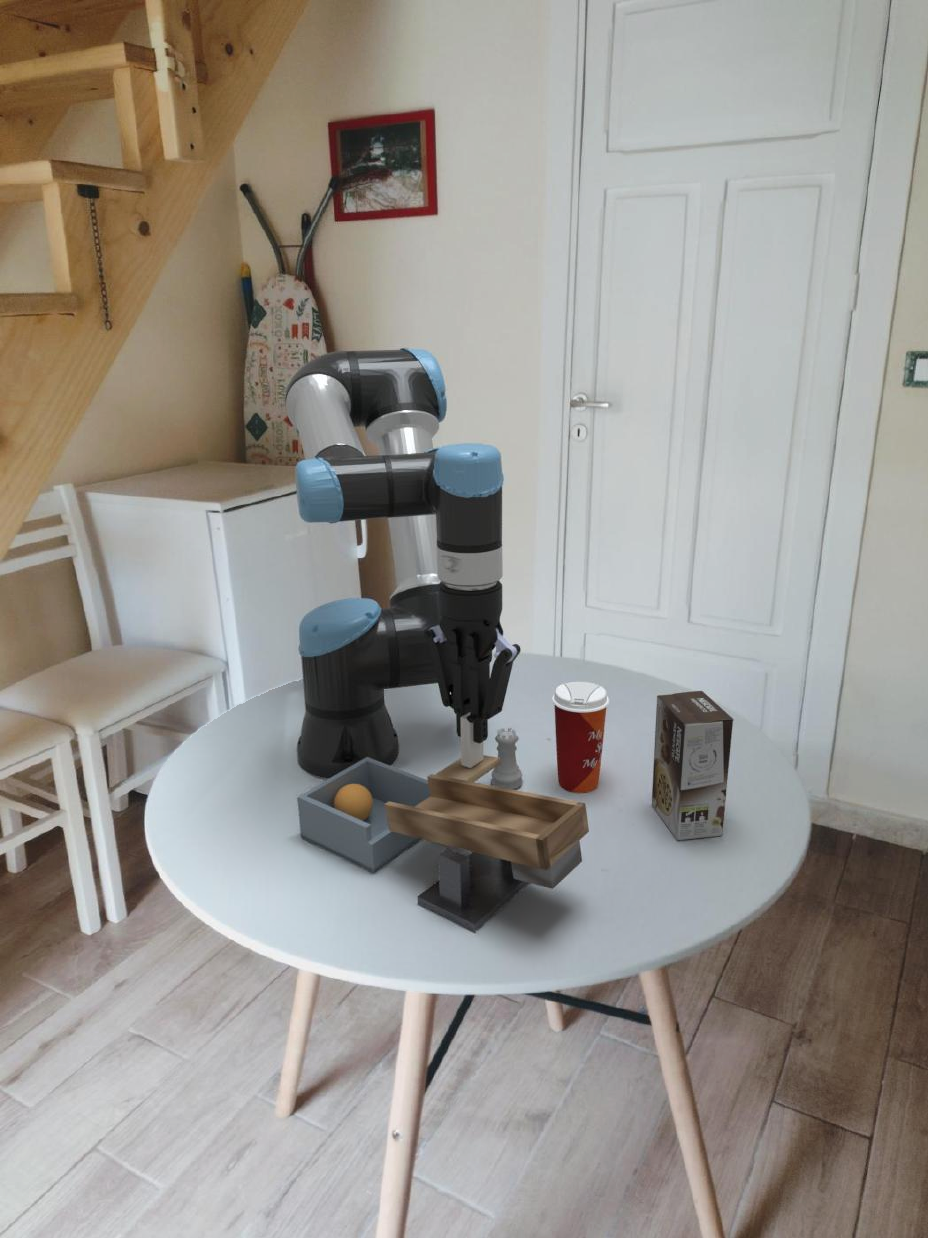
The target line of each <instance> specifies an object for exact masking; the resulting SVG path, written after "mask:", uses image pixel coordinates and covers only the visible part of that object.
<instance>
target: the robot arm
mask: <svg viewBox="0 0 928 1238" xmlns="http://www.w3.org/2000/svg"><path fill="white" fill-rule="evenodd" d="M447 403H448V402H447V396H446V384H445V379H444V375H443V372H442V369H441V366H440V364H439V362H438V360H437V358H436V357H435V355H433V353H432V352H429V351H428V350H426V349H421V348H420V349H415V348H407V347H401V348H399V349H380V350H379V349H376V350H374V349H373V350H370V349H369V350H335V351H330V352H327V353H324V354H321V355H319V356H317V357H315V358H313V359H311V360H310V361H308V362H307V363H305V364H304V365H302V367H300V368H299V369H298V370H297V371H296V373H295V374H294V375H293V376H292V377H291V378H290V381H289V383H288V384H287V388H286V390H285V396H284V405H285V410H286V414H287V417H288V419H289V421H290V423H291V425H292V426H293V427H294V428H295V429H296V430H297V431H298V435H299V439H300V443H301V446H302V447H301V448H302V451H303V455H304V459H303V460H300V461H299V462H297V464H295V468H294V474H295V475H294V476H295V488H296V491H295V492H296V501H297V505H298V506H297V507H298V513H299V516H300V518H301V519H302V520H303V521H304V522H306V523H327V524H336V523H339V522H340V523H342V522H352V521H353V522H354V521H363V520H364V521H365V520H374V519H375V520H377V519H387V520H388V527H389V532H390V533H389V535H390V540H391V548H392V555H393V560H394V561H393V562H394V567H395V568H394V569H395V570H394V571H395V575H396V583H397V588H396V589H395V590H394V591H393V593H392V594H391V595H390V597H389V606H390V607H389V608H381V606H380V604H379V603H378V602H377V601H376V600H374V599H372V598H367V597H362V598H359V597H350V598H349V597H348V598H342V599H337V600H333V601H331V602H330V601H329V602H327V603H324V604H321V605H320V606H317V607H315V608H313V609H312V610H310V611H309V612H308V613H306V614H305V615H304V616H303V618H302V619H301V621H300V624H299V628H298V630H299V631H298V632H299V633H298V634H299V640H298V641H299V645H298V654H299V655H300V659H301V669H302V671H301V672H302V686H303V697H304V709H305V710H304V711H305V712H304V716H303V719H302V725H301V729H300V730H301V731H300V736H299V738H298V740H297V744H296V754H297V755H296V757H297V764H298V765H299V767H300V768H301V769H302V770H303V771H305V773H307V774H310V775H312V776H314V777H318V778H322V779H326V780H327V779H329V778H331V777H333V776H334V775H336V774H338V773H340V772H341V771H343V770H345V769H347V768H349V767H350V766H352V765H354V764H356V763H357V762H359V761H361V760H363V759H364V758H366V757H369V758H371V759H374V760H377V761H379V762H382V763H384V764H387V765H390V766H392V765H393V764H394V763H395V762H396V760H397V759H398V757H399V756H400V743H399V742H400V741H399V736H398V733H397V731H396V729H395V728H394V724H393V721H392V718H391V716H390V714H389V711H388V708H387V706H386V701H385V690H388V689H400V688H409V687H416V686H425V685H434V684H437V685H438V690H439V695H440V698H441V702H442V704H443V706H444V707H446V708H448V707H450V708H451V709H452V710H453V713H454V714H455V718H456V725H455V726H456V734H457V737H458V738H460V751H461V752H460V754H461V755H460V758H461V765H463V766H466V767H469V768H472V767H473V766H475V765H476V764H478V763H479V762H481V761H482V760H484V741H486V740H487V739H488V737H489V729H488V728H489V726H488V725H489V724H488V723H489V722H488V720H490V719H492V718H494V717H495V716H497V715H498V714H500V713H501V712H502V711H503V707H504V703H505V699H506V694H507V691H508V687H509V682H510V677H511V673H512V670H513V665H514V661H515V660H516V658H517V657H518V656H519V655H520V653H521V646H520V645H519V644H517V643H514V644H511V643H510V642H509V641H508V640H507V639H506V637H504V629H503V627H502V625H501V617H502V615H501V614H502V612H503V584H502V583H501V581H500V580H501V579H502V578H503V575H504V574H503V571H504V570H503V567H504V566H503V564H504V563H503V485H504V481H505V480H504V479H505V478H504V473H503V467H502V454H501V451H500V450H499V449H498V448H497V447H496V446H494V445H491V444H483V443H475V442H474V443H470V442H468V443H466V442H465V443H452V444H447V445H442V446H441V447H439V446H438V447H434V445H433V438H434V437H435V436H436V434H437V433H438V431H439V429H440V423H441V422H443V421H444V420H445V418H446V415H447V411H448V410H447V407H448V405H447ZM356 427H357V428H358V427H359V428H360V427H361V428H362V427H365V434H366V438H367V439H368V441H369V442H371V443H372V444H374V445H375V446H376V447H377V450H378V455H366V453H365V451H364V448H363V446H362V443H361V441H360V439H359V436H358V433H357V431H356ZM494 650H495V652H494V654H493V651H494ZM493 657H494V658H495V659H494V662H493V664H492V667H490V666H491V662H492V660H493ZM490 669H491V670H490ZM490 671H491V672H490Z"/></svg>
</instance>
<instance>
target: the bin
mask: <svg viewBox="0 0 928 1238" xmlns="http://www.w3.org/2000/svg"><path fill="white" fill-rule="evenodd" d="M349 784H359V785H362V786H364V787H365V788H366V789H368V791H369V792H370V793H371V796H372V799H373V807H372V811H371V813H370V814H369V816H368V817H367V818H366V819H365V820H363V821H362V820H359V819H357V818H355V817H353V816H350V815H348V814H346V813H344V812H341V811H339V810H337V809H335V808H334V799H335V796H336V794H337V792H338V791H339V790H340V789H341V788H342V787H344V786H346V785H349ZM428 797H430V790H429V784H428V779H427V778H423V777H421V776H418V775H415V774H413V773H410V772H408V771H405V770H402V769H401V768H397V767H394V766H392V765H387V764H384V763H382V762H379V761H377V760H374V759H371V758H369V757H366V758H364V759H363V760H361V761H359V762H357V763H356V764H354V765H352V766H350V767H349V768H347V769H345V770H343V771H341V772H340V773H338V774H336V775H334V776H333V777H331V778H329V779H326V780H324V781H322V782H321V783H319V784H317V785H315V786H313V787H311V788H310V789H308V790H307V791H304V792H303V793H301V794H299V795H298V796H296V799H297V800H296V801H297V810H298V820H299V829H300V830H299V831H300V839H302V840H304V841H306V842H308V843H310V844H312V845H314V846H316V847H318V848H320V849H323V850H324V849H325V850H324V851H327V852H329V853H331V854H333V855H335V856H336V857H339V858H341V859H343V860H345V861H347V862H349V863H351V864H353V865H355V866H358V867H360V868H361V869H363V870H366V871H367V872H369V873H371V874H376V873H377V872H379V871H380V870H382V869H383V868H384V867H386V866H387V865H388V864H390V863H391V862H392V861H394V860H395V859H398V857H399V856H401V855H402V854H404V853H405V852H406V851H408V850H409V849H411V848H412V847H413V846H414V845H416V844H417V843H419V842H420V841H422V840H423V839H420V838H416V837H412V836H408V835H404V834H400V833H396V832H392V831H389V827H388V821H387V816H386V811H385V805H384V804H386V803H387V802H389V801H390V802H394V803H399V804H403V805H408V806H412V807H415V806H417V805H418V804H419V803H421V802H422V801H424V800H425V799H427V798H428Z"/></svg>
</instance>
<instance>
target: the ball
mask: <svg viewBox="0 0 928 1238" xmlns="http://www.w3.org/2000/svg"><path fill="white" fill-rule="evenodd" d="M372 807H373V799H372V796H371V793H370V792H369V791H368V789H366V788H365V787H364V786H362V785H359V784H349V785H346V786H344V787H342V788H341V789H340V790H339V791H338V792H337V794H336V796H335V799H334V808H335V809H337V810H339V811H341V812H344V813H346V814H348V815H350V816H353V817H355V818H357V819H359V820H362V821H363V820H365V819H366V818H367V817H368V816H369V814H370V813H371V811H372Z"/></svg>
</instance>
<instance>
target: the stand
mask: <svg viewBox="0 0 928 1238" xmlns="http://www.w3.org/2000/svg"><path fill="white" fill-rule="evenodd" d="M437 856H438V857H437V858H438V880H436V881H435V882H433V883H432V885H430V886H429V887H428V888H426V889H424V891H422V892H421V893H420V894H418V895H417V904H418V905H419V906H421V907H423V908H425V909H427V910H429V911H431V912H433V913H436V914H437V915H439V916H441V917H444V918H445V919H447V920H450V921H451V922H453V923H455V924H457V925H460V926H462V927H464V928H466V929H467V930H470V931H472V932H474V933H476V932H477V931H478V930H479V929H480V928H481V927H482V926H483V925H484V924H486V923H487V922H488V921H489V920H490V919H492V917H494V916H495V915H496V914H497V913H498V912H499V911H500V910H501V909H502V908H504V906H505V905H507V904H508V903H509V902H510V901H511V900H512V899H513V898H515V896H517V895H518V894H519V893H520V892H521V891H523V889H525V888H526V887H527V886H528V885H529V884H530V883H528V882H524V881H521V880H517V879H514V878H513V871H512V865H511V861H507V860H503V859H499V858H495V857H491V856H487V855H483V854H479V853H475V852H472V853H471V854H469V855H466V854H464V853H461V852H459V851H457V850H454V849H453V848H449V847H446V848H445V849H443V850H442V851H441V852H440V853H438V855H437Z"/></svg>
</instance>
